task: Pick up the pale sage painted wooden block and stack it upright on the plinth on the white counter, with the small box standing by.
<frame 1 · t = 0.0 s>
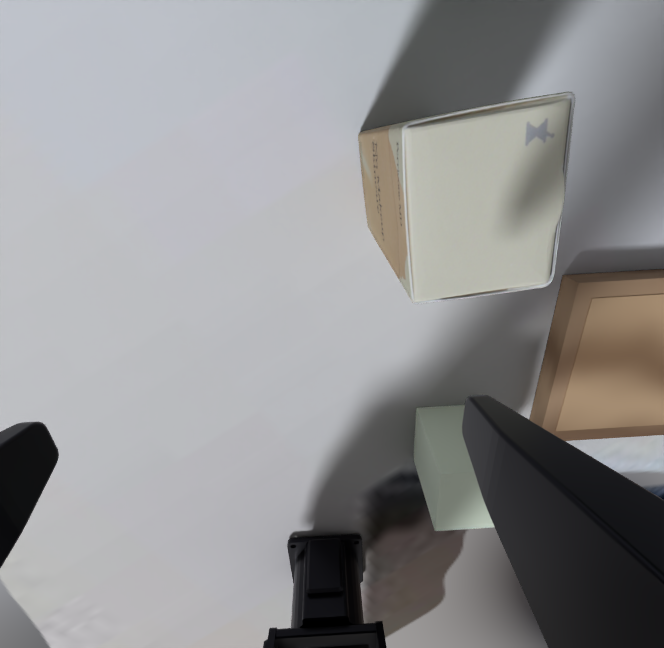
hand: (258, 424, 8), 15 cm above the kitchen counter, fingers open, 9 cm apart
block: (447, 431, 27), on the kitchen counter
box: (401, 178, 20), on the kitchen counter
plinth: (631, 354, 25), on the kitchen counter
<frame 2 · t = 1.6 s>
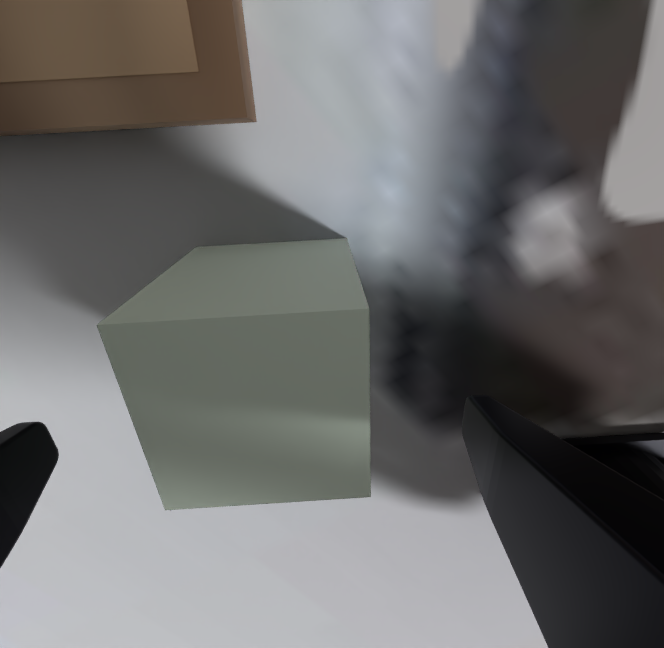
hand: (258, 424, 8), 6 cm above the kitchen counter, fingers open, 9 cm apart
block: (280, 310, 13), on the kitchen counter
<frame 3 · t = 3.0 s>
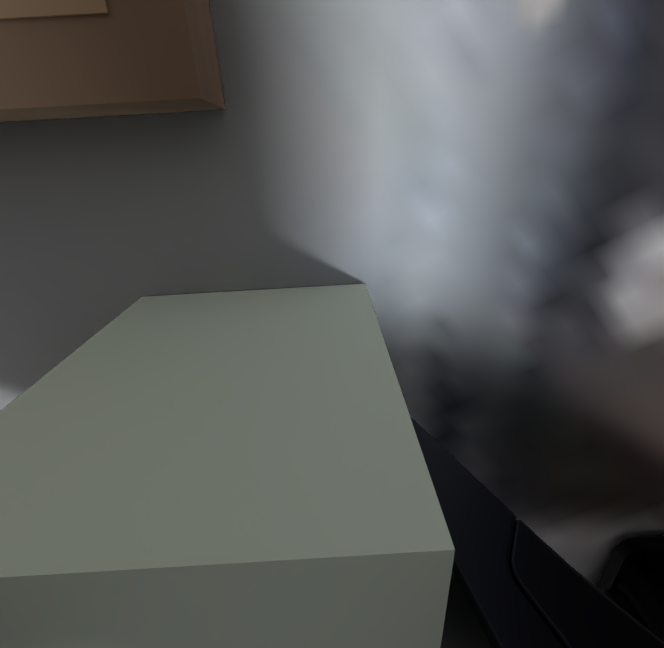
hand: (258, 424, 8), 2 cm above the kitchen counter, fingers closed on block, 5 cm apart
block: (267, 383, 9), on the kitchen counter, touching gripper
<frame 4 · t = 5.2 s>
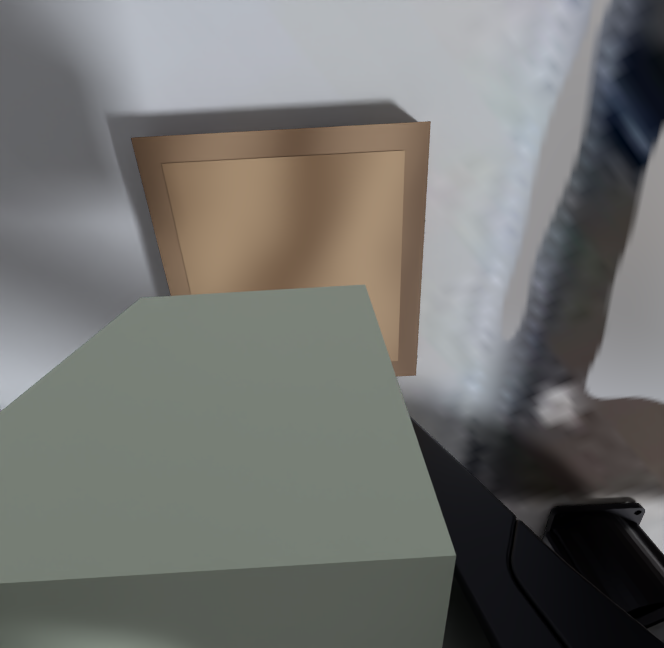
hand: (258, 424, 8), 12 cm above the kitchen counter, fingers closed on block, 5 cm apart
block: (267, 384, 9), point 10 cm above the kitchen counter, touching gripper
plinth: (296, 265, 18), on the kitchen counter
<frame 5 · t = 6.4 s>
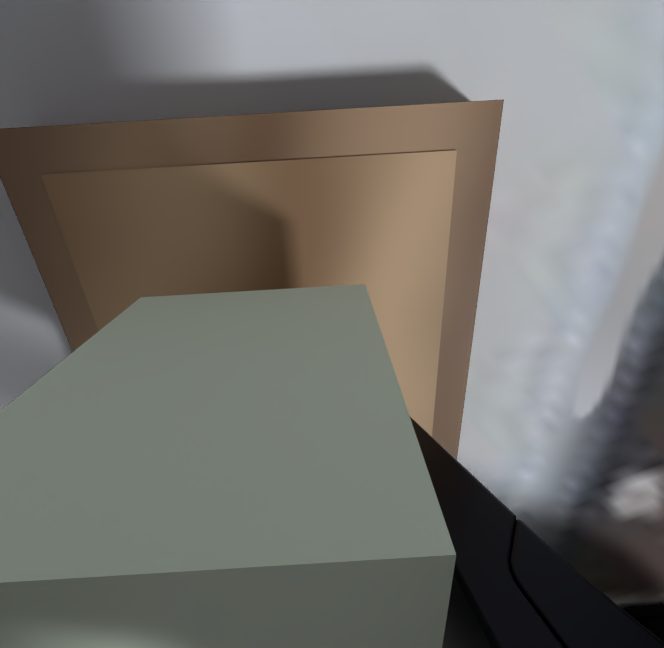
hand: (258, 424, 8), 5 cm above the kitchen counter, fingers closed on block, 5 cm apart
block: (267, 383, 9), point 3 cm above the kitchen counter, touching gripper
plinth: (279, 322, 12), on the kitchen counter
when the fingers open (4 cm above the kitchen counter, at t = 7.3 s): block drops 1 cm, resting on plinth.
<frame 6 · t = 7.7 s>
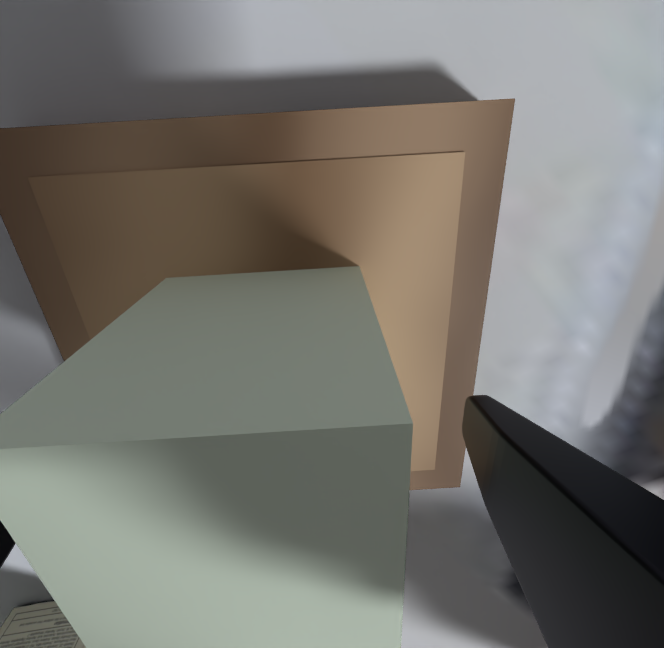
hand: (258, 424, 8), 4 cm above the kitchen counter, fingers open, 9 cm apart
block: (274, 355, 10), point 2 cm above the kitchen counter, touching plinth
box: (85, 615, 19), on the kitchen counter
plinth: (279, 330, 12), on the kitchen counter
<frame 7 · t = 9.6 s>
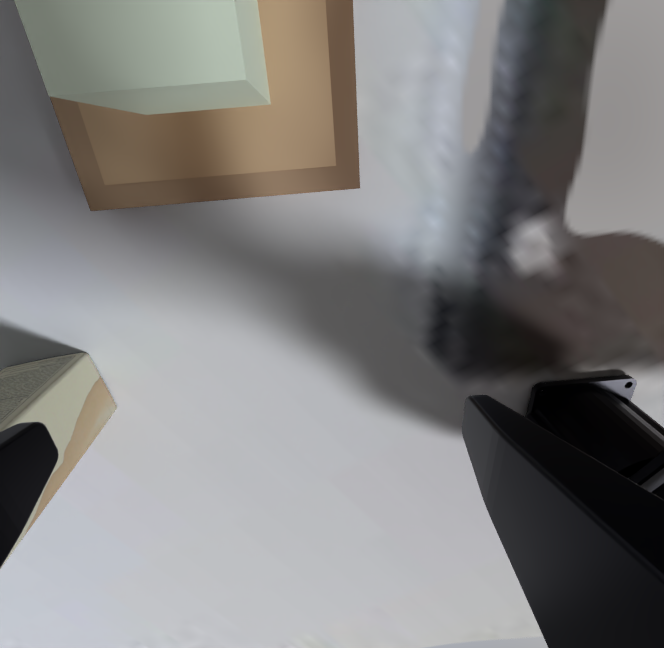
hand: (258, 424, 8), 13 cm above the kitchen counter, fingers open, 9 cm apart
block: (193, 31, 13), point 2 cm above the kitchen counter, touching plinth
box: (68, 384, 22), on the kitchen counter
plinth: (203, 41, 15), on the kitchen counter
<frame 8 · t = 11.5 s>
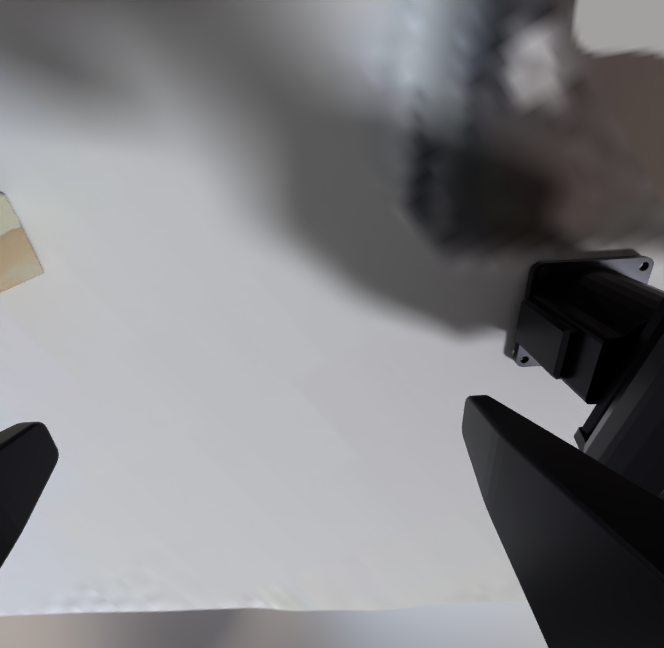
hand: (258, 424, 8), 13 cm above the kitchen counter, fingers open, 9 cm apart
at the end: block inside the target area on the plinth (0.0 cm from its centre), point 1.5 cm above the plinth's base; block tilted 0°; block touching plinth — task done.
